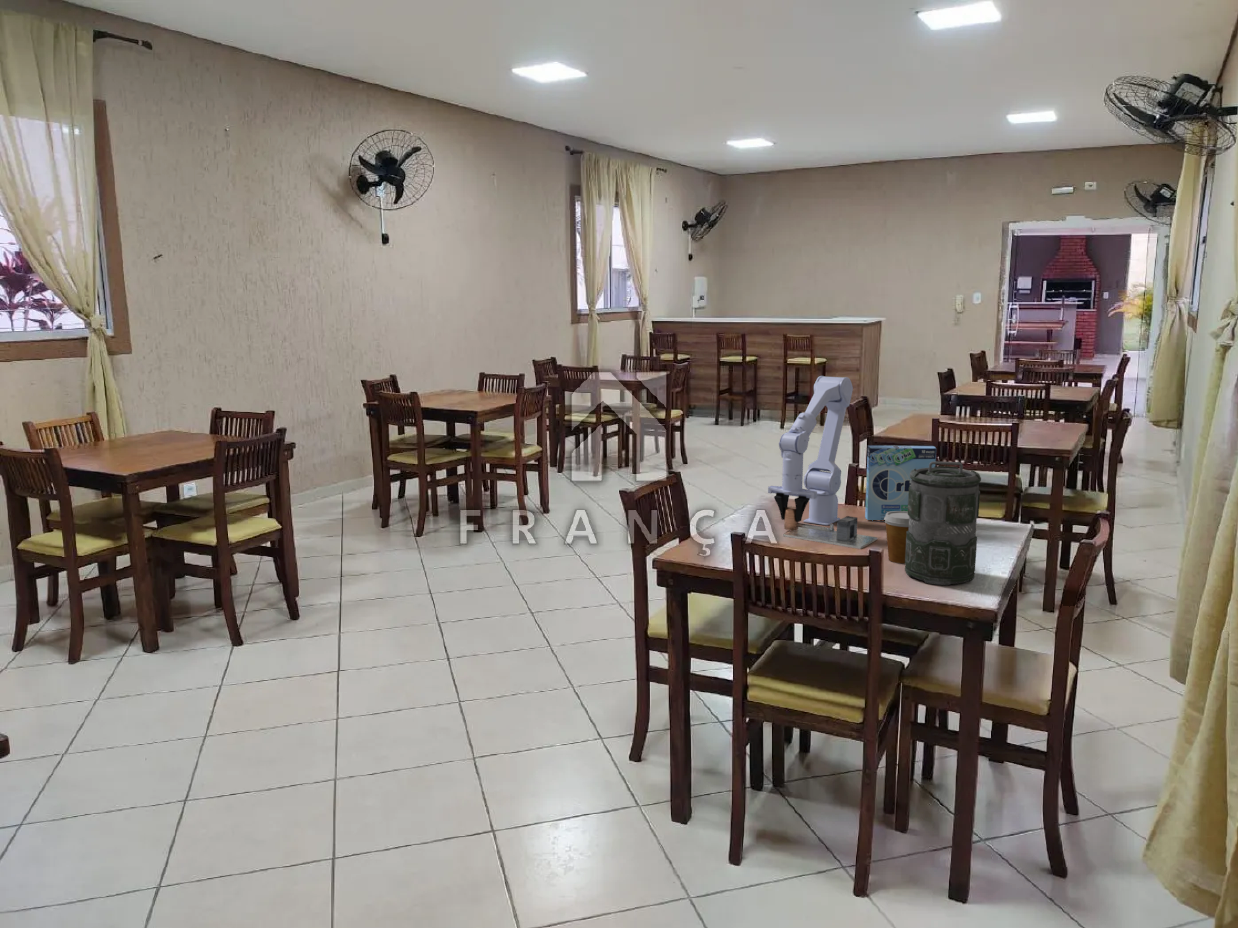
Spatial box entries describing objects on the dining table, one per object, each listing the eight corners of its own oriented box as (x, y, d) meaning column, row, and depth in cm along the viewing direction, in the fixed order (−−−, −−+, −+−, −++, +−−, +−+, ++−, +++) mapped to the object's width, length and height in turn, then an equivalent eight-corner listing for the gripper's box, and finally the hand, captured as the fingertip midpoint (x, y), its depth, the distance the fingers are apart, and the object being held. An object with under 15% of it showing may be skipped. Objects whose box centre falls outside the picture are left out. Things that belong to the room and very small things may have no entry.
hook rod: (781, 528, 248) (782, 508, 247) (788, 526, 251) (788, 505, 250) (830, 536, 239) (831, 515, 238) (836, 533, 242) (836, 512, 241)
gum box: (929, 519, 262) (933, 445, 258) (933, 523, 257) (937, 448, 253) (864, 517, 265) (867, 444, 261) (866, 521, 260) (869, 447, 256)
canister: (909, 584, 199) (915, 467, 194) (900, 565, 215) (905, 455, 210) (981, 588, 196) (989, 468, 192) (966, 568, 212) (973, 457, 207)
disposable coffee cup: (920, 556, 222) (923, 511, 220) (920, 567, 213) (923, 520, 211) (882, 553, 225) (884, 509, 223) (881, 563, 216) (883, 517, 214)
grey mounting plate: (801, 527, 253) (802, 507, 252) (877, 539, 239) (878, 518, 238) (783, 536, 244) (783, 515, 242) (860, 548, 230) (861, 526, 229)
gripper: (763, 473, 247) (762, 519, 249) (809, 479, 238) (808, 526, 240) (774, 469, 252) (773, 514, 255) (820, 475, 244) (819, 521, 246)
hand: (791, 520), depth 248 cm, fingers closed on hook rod, 4 cm apart
